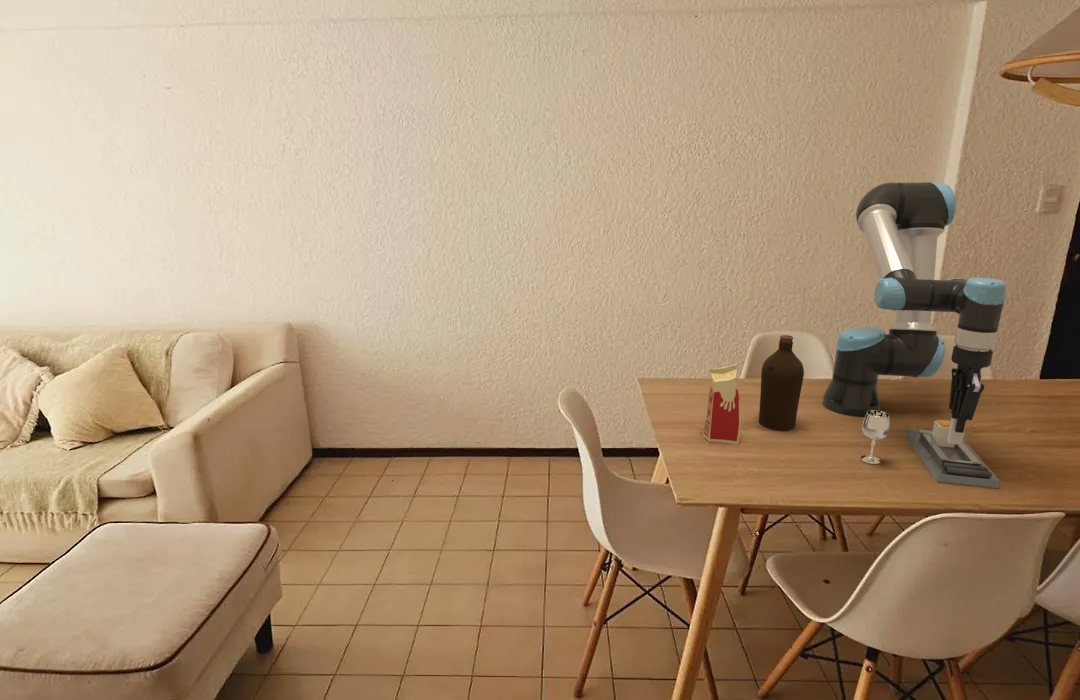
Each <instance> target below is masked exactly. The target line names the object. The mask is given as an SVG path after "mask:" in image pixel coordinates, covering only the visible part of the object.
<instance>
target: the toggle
mask: <svg viewBox="0 0 1080 700" xmlns="http://www.w3.org/2000/svg"><path fill="white" fill-rule="evenodd" d="M950 423H951V420H947V419H937V420H934V422H933V428H932V430H931V431H932V438H933V440H934V441H935V442H936V444H937V445H938V446H942V447H952V448H954V447H955V444H949V443H948V442H947V438H948V433H949V428H950Z"/></svg>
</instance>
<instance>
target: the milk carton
mask: <svg viewBox="0 0 1080 700" xmlns="http://www.w3.org/2000/svg"><path fill="white" fill-rule="evenodd" d="M737 368H738V363H735V364H731V365H728V366H727V365H726V366H724V367H718V368H717V367H716V368H708V369H707V370H708V371H709V372H710V375H711V377H712V379H711V384H710V388H709V394H708V400H707V401H708V402H707V409H706V418H705V422H704V428H703V432H702V433H703V434H702V436H703V437H704V438H705V440H707V441H708V442H709V443H724V444H731V445H732V444H733V445H739V441H740V433H741V426H742V415H741V414H742V413H741V411H742V410H741V395H740V391H739V387H738V381H737Z"/></svg>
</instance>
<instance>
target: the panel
mask: <svg viewBox="0 0 1080 700" xmlns="http://www.w3.org/2000/svg"><path fill="white" fill-rule="evenodd" d="M932 431H933V430H930V429H929V430H928V429H919V428H910V427H906V429H905V433H904V434H905V437H906V439H907V441H908V442H909V443H910V445H911V446H912V447H913V449H914V451H915V452H916V454H917V455H918V456H919V457H920V459H921V460H922V462H923V464H924V465H925V466H926V468H927V469H928V471H929V472H930V475H932V477H933V478H934V480H935V481H936V482H938V483H945V484H947V483H948V484H954V485H964V486H972V487H981V488H990V489H991V488H992V489H997V488H998V489H999V485H1000V481H1001V480H1000V479H999V478H998V477H997V475H996V474H995V473H994V472H993V471H992V470H991V469H990V468H989V466H988V465H987V464H986V463H985V462H984V461H983V460H982V458H981V457H980V456H979V455H978V454H977V453H976V452H975V450H974V449H973V448H972V447H971V446H970V445H969V444H968V443H967V441H966V440H965V439H964V438H963V442H962V445H958V444H955V447H954V448H952V447H942V446H938V445H937V444H936V442H935V441H934V440H933V438H932ZM944 463H953V464H962V465H972V466H981V467H986V468H988V471H989V472H991V473H992V477H990V478H986V477H977V476H968V475H959V474H950V473H947V471H946V469H944V468H943V464H944Z"/></svg>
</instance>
